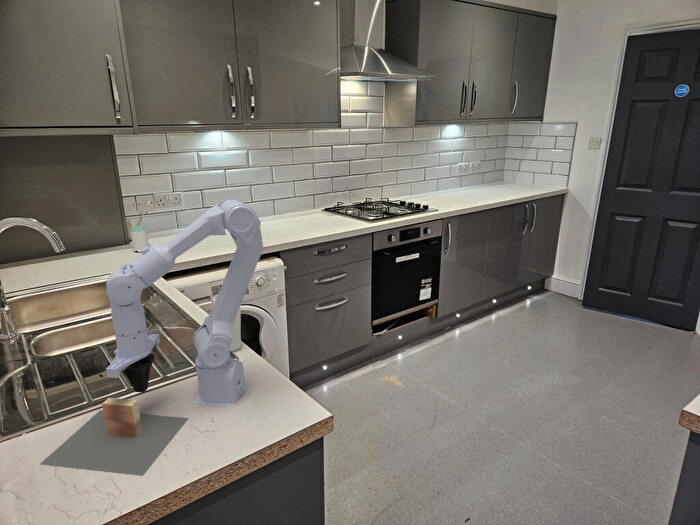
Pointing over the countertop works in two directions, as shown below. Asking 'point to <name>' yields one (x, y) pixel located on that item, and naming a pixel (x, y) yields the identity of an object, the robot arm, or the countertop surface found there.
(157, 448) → the mat
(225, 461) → the countertop surface
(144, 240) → the can
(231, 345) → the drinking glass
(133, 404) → the tile
